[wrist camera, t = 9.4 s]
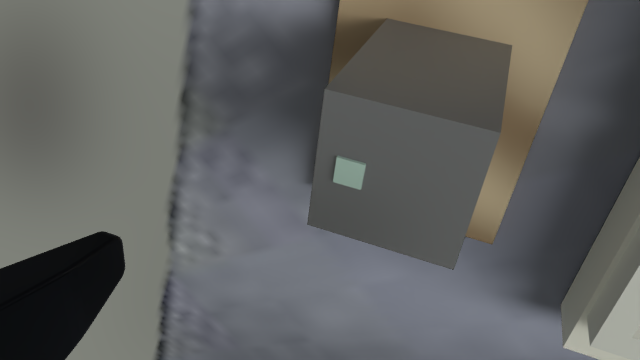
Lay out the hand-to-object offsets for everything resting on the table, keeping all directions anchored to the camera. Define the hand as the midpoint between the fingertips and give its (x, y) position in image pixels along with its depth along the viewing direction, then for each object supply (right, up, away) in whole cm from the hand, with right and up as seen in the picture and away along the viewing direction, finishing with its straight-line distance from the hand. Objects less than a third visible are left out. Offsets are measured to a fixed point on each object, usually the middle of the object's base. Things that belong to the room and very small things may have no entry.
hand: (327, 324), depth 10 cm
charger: (+4, +6, +10) cm, 12 cm away
